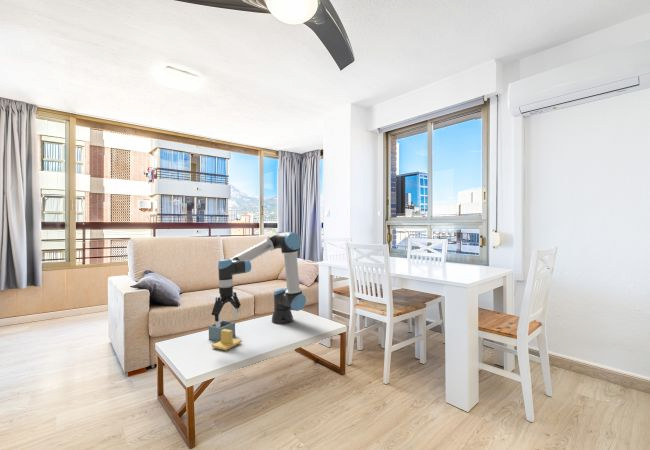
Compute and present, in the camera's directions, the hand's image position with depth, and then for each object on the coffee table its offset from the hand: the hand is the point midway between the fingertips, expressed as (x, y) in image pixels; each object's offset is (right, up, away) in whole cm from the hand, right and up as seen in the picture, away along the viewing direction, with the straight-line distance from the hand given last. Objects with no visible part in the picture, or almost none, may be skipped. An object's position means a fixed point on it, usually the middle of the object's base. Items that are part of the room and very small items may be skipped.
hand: (227, 322), depth 178 cm
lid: (0, -13, 0) cm, 13 cm away
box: (-7, -13, +14) cm, 21 cm away
